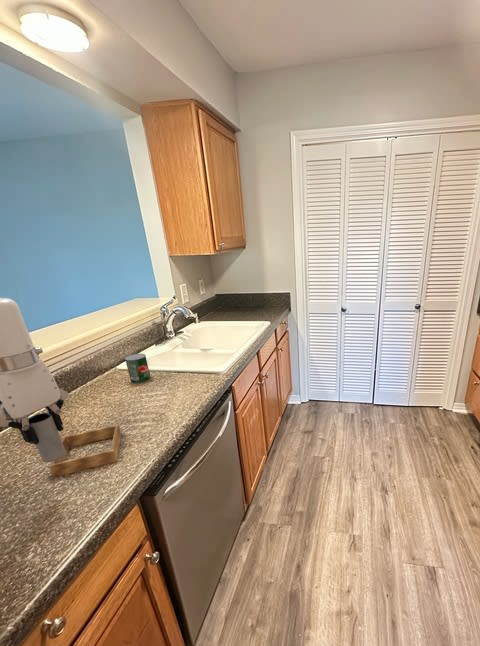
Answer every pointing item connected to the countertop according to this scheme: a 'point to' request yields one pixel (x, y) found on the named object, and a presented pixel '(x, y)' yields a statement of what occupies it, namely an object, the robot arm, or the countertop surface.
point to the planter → (47, 437)
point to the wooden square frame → (89, 461)
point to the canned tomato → (138, 368)
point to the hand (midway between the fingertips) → (45, 435)
